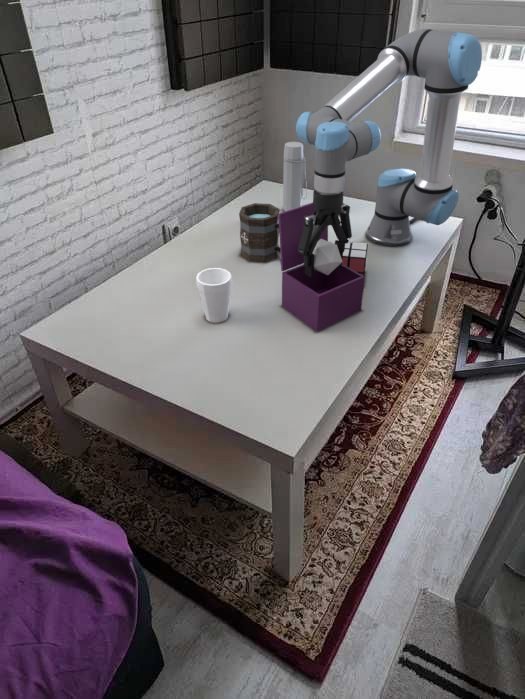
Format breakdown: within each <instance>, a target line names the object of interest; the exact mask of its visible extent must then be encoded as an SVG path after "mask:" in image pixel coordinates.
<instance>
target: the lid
mask: <svg viewBox="0 0 525 699" xmlns="http://www.w3.org/2000/svg"><path fill="white" fill-rule="evenodd" d="M314 209H315V208H314V205H313V201H312V202H309V203H306V204H304V205H301V206H300V207H297V208H294V209H291V210H288V211H282V212H279V214H278V215H279V247H280V252H279V254H280V270H281V272H285V271H287V270H290V269H293V268H295V267H298V266H300V265H303V264H304V255H302V254H300V253H299V252H298V246H299V242H300V238H301V234H302V230H303V226H304V216H308V217H309V216H311V215H313V212H314ZM317 226H319V225H318V224H317ZM319 227H321V226H319ZM320 239H323V240H326V241H329V226H327V227H325V229H324V231H323V232H322V233H321V235H320V237H319V239H318V241H319V240H320ZM308 250H309V249H308Z"/></svg>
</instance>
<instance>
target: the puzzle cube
mask: <svg viewBox="0 0 525 699" xmlns="http://www.w3.org/2000/svg"><path fill="white" fill-rule="evenodd" d="M368 246H369V243H368V242H354V241H352V242H351V241H349V242H348V243H347V244H346V243H345V250H344V252H343V259H342V264H344V265H345V266H347V267H349V268H351V269H352V270H354V271H356V272H358V273H359V274H361V275H363V276H365V272H366V264H367V263H366V262H367V256H368V248H369V247H368Z"/></svg>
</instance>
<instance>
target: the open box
mask: <svg viewBox="0 0 525 699" xmlns="http://www.w3.org/2000/svg"><path fill="white" fill-rule="evenodd" d="M365 280H366V276H365V275H364V276H363V275H361V274H359V273H358V272H356V271H354V270H352V269H351V268H349V267H347V266H345V265H344V264H342V265H341V266H337V267H336V268H335V269H334V270H333V271H332V272H331V273H330V274H329V275H326V274H323V273H321V272H319V271H316V270H314V274H313V277H310V276H308V275H306V274H305V265H304V263H303V264H301V265H298V266H295V267H293V268H290V269H288V270H285V271H281V307H282V308H283V309H284V310H286V311H287V312H289V314H291V315H293V316H294V317H296V318H297V319H299V320H300V321H302V323H304V324H306V325H307V326H308V327H310V328H311V329H312V330H314V331H315V332H319V331H323V330H324V329H326V328H328V327H329V326H332V325H334V324H337V323H338V322H340V321H343V320H345V319H347V318H349V317H351V316H353V315H356V314H358V313H360V312H361V311H362V304H363V297H364V288H365Z"/></svg>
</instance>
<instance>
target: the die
mask: <svg viewBox="0 0 525 699" xmlns="http://www.w3.org/2000/svg"><path fill="white" fill-rule="evenodd" d="M312 254H314V270H316V271H319V272H321V273H323V274H326V275H329V274H330V273H331V272H332V271H333V270H334V269H335V268H336V267H337V266H339V265H340V264H341V263H342V259H341V256H340V253H339V250H338V247H337V245H336V244H335V242H332V241H329V240H328V241H326V240H323V239H320V240H319V241H318V242H317V244H316V246H315V248H314V251H313V253H312Z"/></svg>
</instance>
